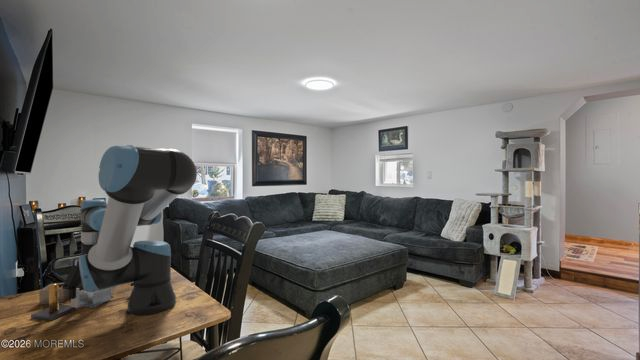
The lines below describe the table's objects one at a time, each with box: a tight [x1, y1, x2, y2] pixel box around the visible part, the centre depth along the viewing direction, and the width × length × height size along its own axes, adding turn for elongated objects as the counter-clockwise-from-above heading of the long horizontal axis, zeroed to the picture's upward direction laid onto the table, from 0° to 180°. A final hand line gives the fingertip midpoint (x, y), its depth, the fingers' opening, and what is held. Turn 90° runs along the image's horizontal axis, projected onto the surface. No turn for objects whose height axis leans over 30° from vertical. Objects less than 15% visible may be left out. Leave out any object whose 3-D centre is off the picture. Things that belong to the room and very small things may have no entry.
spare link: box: [39, 282, 70, 305], centre depth 111 cm, size 7×7×5 cm
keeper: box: [30, 283, 77, 322], centre depth 100 cm, size 8×8×10 cm
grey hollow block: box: [79, 287, 112, 309], centre depth 108 cm, size 7×7×5 cm
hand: (94, 298), depth 109 cm, fingers open, 14 cm apart
